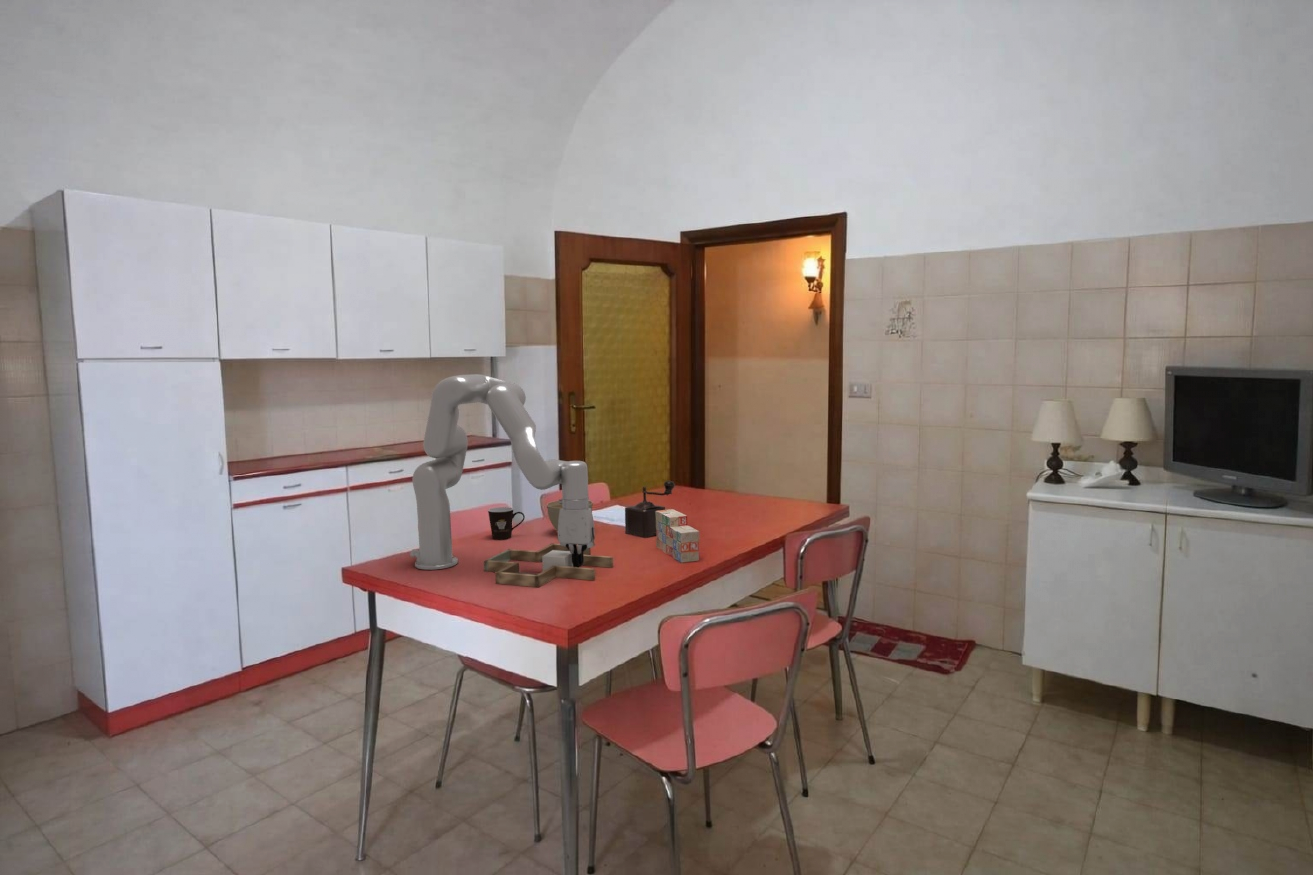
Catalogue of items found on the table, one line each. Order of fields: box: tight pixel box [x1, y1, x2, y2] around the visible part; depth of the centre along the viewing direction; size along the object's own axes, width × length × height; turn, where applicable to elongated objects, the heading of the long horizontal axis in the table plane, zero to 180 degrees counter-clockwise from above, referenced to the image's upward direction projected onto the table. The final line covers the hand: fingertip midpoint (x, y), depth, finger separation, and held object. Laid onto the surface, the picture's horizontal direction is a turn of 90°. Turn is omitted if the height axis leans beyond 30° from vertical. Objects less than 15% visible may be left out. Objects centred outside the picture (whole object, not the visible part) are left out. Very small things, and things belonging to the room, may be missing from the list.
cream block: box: [541, 550, 573, 572], centre depth 227 cm, size 7×7×5 cm
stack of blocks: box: [655, 508, 700, 563], centre depth 243 cm, size 21×6×12 cm, turn 20°
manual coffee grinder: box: [624, 480, 676, 539], centre depth 272 cm, size 16×11×18 cm
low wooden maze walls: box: [483, 543, 614, 588], centre depth 228 cm, size 35×34×3 cm
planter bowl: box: [546, 499, 594, 534], centre depth 273 cm, size 16×16×11 cm
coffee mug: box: [487, 506, 526, 541], centre depth 268 cm, size 12×9×10 cm
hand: (577, 566), depth 225 cm, fingers closed
